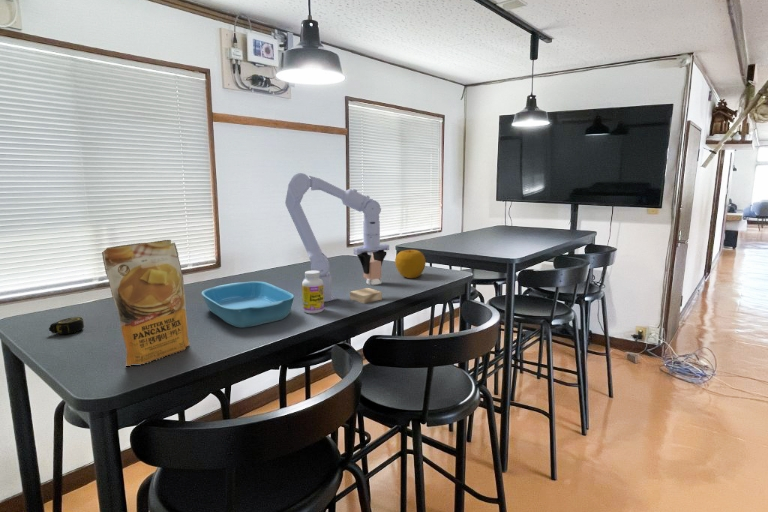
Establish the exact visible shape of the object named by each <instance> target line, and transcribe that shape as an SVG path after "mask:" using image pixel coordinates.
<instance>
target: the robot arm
mask: <svg viewBox="0 0 768 512" xmlns="http://www.w3.org/2000/svg"><path fill="white" fill-rule="evenodd" d="M309 189H310V190H311V191H322V192H324V193H326V194H329V195H331V196H333V197H336V198H338V199H340V200H341V203H342V205H344V206H346V207H348V208H349V209H352V210H355V211H357V212H360V213H361V212H362V213H363V221H362V223H363V226H362V229H363V231H362V233H363V246H359V247H356V248H353V251H352V252H353V255H357V258H358V260H359V262H360V264H361V266H362V267H361V268H362V271H364V273H365V274H369V264H370V258H371V255H368V254H367V253H370V252H373V256H374V260H378V261H381V267H382V266H383V262H384V259H385V258H386V256H387V251H390V244H387V243H386V244H381V235H380V234H381V233H380V232H381V231H380V230H381V228H380V227H381V222H380V214H381V212H382V207H381V205H380V203H379V202H378V201H377V200H374V199H373V198H370V196H369V195H364V194H362V193H359V192H358V190H357V189H355V188H353V189H352V188H350V189H346V190H344V189H341V188H340V187H338V186H336V185H334V184H331V183H330V182H328V181H325V180H323V179H321V178H318V177H315V176H311V175H309V176H308V175H307V174H306V173H302V172H298V173H296V174H294V175H293V176H292V177H291V179H290V181H289V183H288V185H287V191H286V196H285V203H284V204H285V206H286V209H287V211H288V213H289V215H290V217H291V220H292V222H293V223H294V227H295V229H296V231H297V233H298V236H299V237H300V240H301V242H302V243H303V246H304V248H305V251H306V253H307V256H308V259H309V260H310V269H311V270H310V271H313V270H315V271H320V276H319V279H321V280H322V281H323V292H324V303H325V302H329V301H330V302H331V301H334V300H338V298H337V297H336V296H334V295H333V296H332V273H331V271H330V267H331V266H330V262H329V258H328V257H327V255H326V254H325V253H324V252H323V251H322V249H321V247H320V245H319V243H318V241H317V238H316V236H315V233H314V232H313V230H312V228H311V225H310V223H309V221H308V218H307V216H306V213H305V211H304V209H303V207H302V205H301V202H302V200H303V198H304V195H305V194H306V193H307V192H308V191H309ZM371 250H372V251H371ZM305 279H306V277H304V278H303V280H302V282H303V281H304V280H305ZM302 301H303V297H302Z"/></svg>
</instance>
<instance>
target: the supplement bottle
mask: <svg viewBox="0 0 768 512" xmlns="http://www.w3.org/2000/svg"><path fill="white" fill-rule="evenodd" d="M319 276H320V271H315V270H313V271H312V270H306V271H305V272H304V278H306V279H305V280H304V281H303V280H302V282H301V283H302V285H301V287H302V298H303V300H302V309H303V310H302V311H303V312H305V313H306V314H319V313H322V312H323V311H324V310H325V302H324V292H323V281H322V280H321V279H319Z"/></svg>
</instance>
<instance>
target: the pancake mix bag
mask: <svg viewBox="0 0 768 512" xmlns="http://www.w3.org/2000/svg"><path fill="white" fill-rule="evenodd" d="M101 254H102V260H103V265H104V270H105V274H106V276H107V280H108V283H109V287H110V292H111V295H112V297H111V298H112V299H113V303H114V306H115V308H116V312H117V314H118V317H119V318H118V319H119V325H120V331H121V332H120V333H121V335H122V338H123V340H124V345H125V349H126V351H125V352H126V353H125V356H126V357H125V364H124V365H125V366H124V367H125V368H127V367H126V366H129V365H132V364H143V363H147V362H150V361H153V360H156V359H159V358H162V357H165V356H167V357H169V356H168V355H170V356H172V355H171V354H173V355H175V354H174V353H176V354H178V353H177V352H179V353H181V352H183V351H185V349H186V348H187V347H188V346H190V345H191V344H190V341H189V338H188V318H187V309H186V308H187V307H186V303H187V302H186V290H185V284H184V283H185V282H184V276H183V270H182V266H181V262H180V258H179V251H178V249H177V245H176V242H172V239H162V240H156V241H151V242H150V241H149V242H139V243H138V242H137V243H130V244H129V243H128V244H124V245H123V244H122V245H117V246H112V247H111V246H110V247H107V248H106V249H104V250H103V251H102V252H101ZM186 350H187V349H186ZM180 351H181V352H180ZM165 358H166V357H165ZM162 359H163V358H162ZM159 360H160V359H159ZM156 361H157V360H156ZM153 362H154V361H153ZM150 363H151V362H150ZM147 364H148V363H147Z"/></svg>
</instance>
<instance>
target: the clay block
mask: <svg viewBox="0 0 768 512" xmlns="http://www.w3.org/2000/svg"><path fill="white" fill-rule="evenodd" d="M362 271H363V270H362ZM362 278H364V279H366V280H367V279H370V280H373V279H378V278H381V279H382V266H381V261H378V260H370V264H369V274H365V273H364V271H363V277H362Z"/></svg>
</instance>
